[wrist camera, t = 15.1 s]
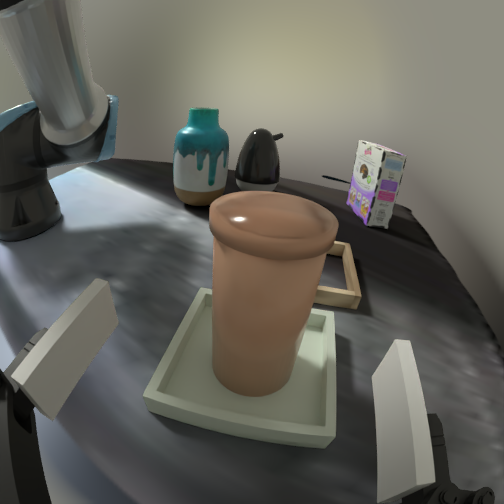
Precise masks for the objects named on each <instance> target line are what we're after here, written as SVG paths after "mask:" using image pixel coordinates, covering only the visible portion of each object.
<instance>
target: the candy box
mask: <svg viewBox="0 0 504 504" xmlns="http://www.w3.org/2000/svg"><path fill="white" fill-rule="evenodd" d="M406 157H407V156H405V155H403V154H400V153H398V152H396V151H394V150H391V149H389V148H386V147H384V146H382V145H379V144H375V143H371V142H366V141H362V140H359V141H358V146H357V152H356V158H355V163H354V169H353V174H352V179H351V184H350V189H349V193H348V198H347V205H348V206H349V207H350V208H351V209H352V210H353V211H354V212H355V214H356V215H357V216H358V217H359V218H360V219H361V220H362V221H363V223H364V224H365V225H366V226H371V227H379V228H385V229H388V226H389V223H390V219H391V216H392V212H393V209H394V205H395V202H396V198H397V194H398V190H399V187H400V183H401V178H402V174H403V171H404V166H405V161H406Z"/></svg>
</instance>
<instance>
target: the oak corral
mask: <svg viewBox="0 0 504 504" xmlns="http://www.w3.org/2000/svg"><path fill="white" fill-rule="evenodd" d="M326 254H332V255H337V256H342V259H343V264H344V270H345V276H346V283H347V289H348V290H342V289H336V288H330V287H324V286H318V288H317V292H316V295H315V299H314V302H313V303H319V304H325V305H331V306H337V307H343V308H350V309H357V307H358V304H359V302H360V299H361V292H360V287H359V282H358V278H357V273H356V269H355V265H354V260H353V256H352V252H351V248H350V244H348V243H342V242H337V241H335V242H334V245H333V246H332V248H331V249H330V250H329V251H327V253H326Z"/></svg>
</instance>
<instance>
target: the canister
mask: <svg viewBox="0 0 504 504" xmlns="http://www.w3.org/2000/svg"><path fill="white" fill-rule="evenodd" d="M209 228H210V231H211V233H212V234H213V236H214V243H213V281H212V368H213V372H214V374H215V376H216V378H217V380H218V381H219V382H220V383H221V384H222V385H223V386H224V387H226V388H227V389H228V390H230V391H232V392H234V393H237V394H239V395H243V396H249V397H261V396H266V395H270V394H273V393H275V392H277V391H278V390H280V389H281V388H282V387H284V386H285V384H286V383H287V382H288V380H289V379H290V376H291V373H292V370H293V367H294V364H295V361H296V358H297V355H298V352H299V349H300V346H301V343H302V339H303V336H304V333H305V330H306V326H307V323H308V320H309V316H310V313H311V309H312V306H313V302H314V299H315V295H316V292H317V288H318V284H319V281H320V277H321V273H322V269H323V265H324V261H325V257H326V253H327V251H329V250H330V249H331V248H332V246H333V245H334V242H335V238H336V234H337V230H338V221H337V219H336V217H335V216H334V215H333V214H332V213H331V212H330V211H329V210H327V209H326V208H324V207H322V206H321V205H319V204H317V203H314V202H312V201H310V200H307V199H304V198H301V197H297V196H293V195H289V194H284V193H278V192H269V191H244V192H236V193H231V194H227V195H224V196H222V197H219V198H218V199H216V200H215V201H213V202H212V204H211V206H210V213H209Z"/></svg>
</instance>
